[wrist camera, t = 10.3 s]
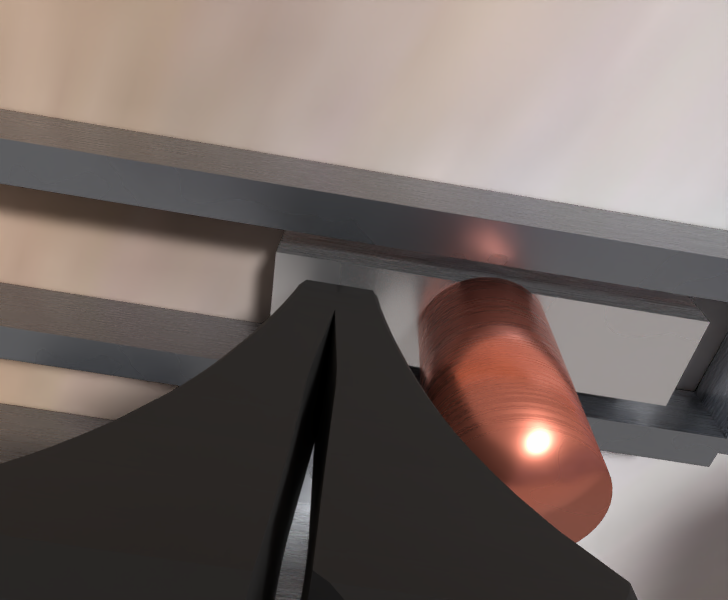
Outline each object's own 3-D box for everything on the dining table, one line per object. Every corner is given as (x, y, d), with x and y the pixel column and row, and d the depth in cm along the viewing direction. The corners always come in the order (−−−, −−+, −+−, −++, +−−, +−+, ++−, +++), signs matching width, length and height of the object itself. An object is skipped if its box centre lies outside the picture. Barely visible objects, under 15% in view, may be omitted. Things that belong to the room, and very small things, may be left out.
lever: (687, 281, 12) (860, 479, 8) (640, 377, 13) (766, 596, 9) (287, 215, 12) (218, 381, 7) (277, 319, 13) (213, 516, 8)
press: (819, 246, 12) (1207, 518, 6) (570, 666, 19) (642, 964, 13) (-59, 99, 11) (-528, 249, 6) (35, 590, 19) (-123, 870, 13)
